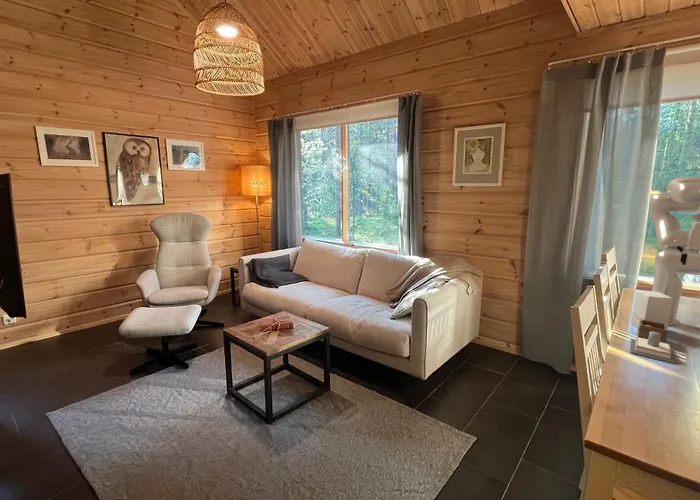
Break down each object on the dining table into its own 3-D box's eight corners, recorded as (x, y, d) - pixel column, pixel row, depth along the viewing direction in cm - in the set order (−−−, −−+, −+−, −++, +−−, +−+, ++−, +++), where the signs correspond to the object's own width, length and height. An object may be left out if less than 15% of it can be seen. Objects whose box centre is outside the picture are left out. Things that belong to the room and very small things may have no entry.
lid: (635, 341, 136) (638, 325, 135) (668, 349, 130) (671, 332, 129) (635, 350, 129) (638, 333, 128) (670, 359, 123) (673, 341, 122)
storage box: (637, 333, 146) (640, 319, 144) (663, 338, 141) (666, 324, 140) (637, 339, 139) (640, 325, 138) (664, 345, 134) (667, 330, 133)
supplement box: (667, 333, 146) (674, 298, 143) (642, 331, 148) (648, 296, 145) (653, 325, 155) (660, 291, 152) (629, 322, 156) (635, 289, 153)
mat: (630, 340, 139) (631, 338, 139) (672, 349, 132) (672, 348, 131) (630, 353, 128) (630, 351, 128) (675, 364, 121) (675, 362, 121)
